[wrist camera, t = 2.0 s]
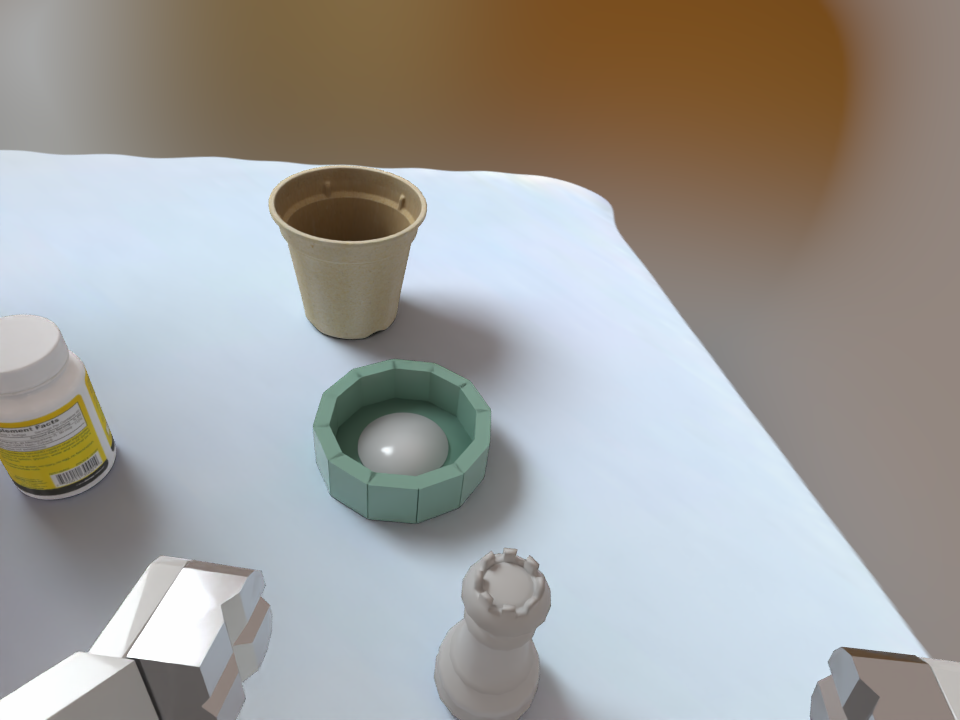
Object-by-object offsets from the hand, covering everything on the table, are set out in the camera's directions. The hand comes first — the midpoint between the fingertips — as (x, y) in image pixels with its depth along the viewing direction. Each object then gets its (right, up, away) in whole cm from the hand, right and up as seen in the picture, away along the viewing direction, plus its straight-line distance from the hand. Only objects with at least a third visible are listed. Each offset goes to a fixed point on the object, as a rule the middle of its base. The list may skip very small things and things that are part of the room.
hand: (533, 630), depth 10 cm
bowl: (-5, -1, +28) cm, 28 cm away
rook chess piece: (-1, -10, +19) cm, 22 cm away
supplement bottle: (-22, -2, +25) cm, 34 cm away
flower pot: (-10, +7, +37) cm, 39 cm away
